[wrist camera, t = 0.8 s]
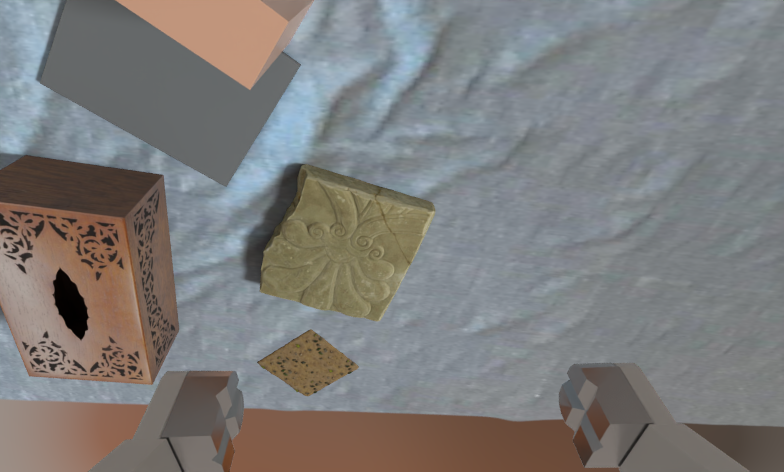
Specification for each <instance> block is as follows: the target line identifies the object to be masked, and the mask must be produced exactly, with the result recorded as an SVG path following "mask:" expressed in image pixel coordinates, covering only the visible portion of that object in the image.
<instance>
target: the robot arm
mask: <svg viewBox="0 0 784 472" xmlns="http://www.w3.org/2000/svg"><path fill="white" fill-rule="evenodd" d="M567 374H568V376H569V379H570V380H568V381H567V382H565V383H564V384H562V386H561V389H560V392H559V406H560V410H561V414H562V416H563V419H564V421H565V423H566V424H567V425H568V426H569V427H570V428H572V429H573V430H574V431H575V433H574V437H573V443H574V445H575V447H576V450H577V452H578V454H579V457H580V459H581V461H582V463H583V465H584V467H585V468H597V467H598V468H600V467H601V468H606V467H607V468H608V467H620V468H619V470H620V471H621V472H750V471H749V470H747V469H746V468H745V467H743V466H742V465H740V464H739V463H737V462H736V461H735V460H733V459H732V458H731V457H729V456H728V455H726V454H725V453H724V452H722V451H721V450H719V449H718V448H717V447H715V446H714V445H712V444H711V443H710V442H708V441H707V440H705V439H704V438H703V437H701V436H700V435H698V434H697V433H696V432H694V431H693V430H691V429H690V428H689V427H687V426H686V425H684V424H681V423H676V421H675V420H674V418H673V417H672V415H671V414H670V412H669V411H668V409H667V408H666V406H665V405H664V403H663V402H662V400H661V399H660V397H659V396H658V394H657V393H656V391H655V390H654V388H653V387H652V385H651V384H650V382H649V381H648V379H647V378H646V376H645V375H644V373H643V372H642V370H641V369H640V367H639V366H637V365H636V364H635V363H590V364H574V365H572V366H571V367H570V368H569V370H568V372H567ZM238 381H239V379H238V376H237V373H236V371H167V372H166V374H165V375H164V376H163V377H162V378H161V380H160V382H159V384H158V386H157V388H156V391H155V393H154V395H153V397H152V399H151V401H150V403H149V405H148V408H147V410H146V412H145V414H144V416H143V418H142V420H141V422H140V425H139V427H138V429H137V431H136V433H135V435H134V437H133V439H130V440H125V441H123V442H122V443H121V444H120V445H119V446H118V447H116V448H115V449H114V450H113V451H112V452H111V453H109V454H108V455H107V456H106V457H105V458H103V459H102V460H101V461H100V462H99V463H98V464H96V465H95V466H94V467H93V468H92V469H90V470H89V471H88V472H230V467H231V464H232V460H233V456H234V453H235V450H234V447H233V443H232V440H233V439H234V438H235V437H236V436H237V434H238V433H239V432H240V429H241V425H242V420H243V411H244V400H243V394H242V391H240V390H239V389H237V385H238Z"/></svg>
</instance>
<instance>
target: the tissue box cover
mask: <svg viewBox="0 0 784 472" xmlns="http://www.w3.org/2000/svg"><path fill="white" fill-rule="evenodd" d="M66 293H67V294H66ZM68 300H69V301H68ZM0 306H1V308H2V311H3V313H4V315H5V318H6V320H7V323H8V325H9V328H10V330H11V333H12V335H13V338H14V340H15V342H16V345H17V347H18V350H19V352H20V355H21V357H22V360H23V362H24V365H25V367H26V370H27V372H28V374H29V376H34V377H49V378H63V379H78V380H92V381H107V382H121V383H135V384H150V385H152V384H153V382H154V380H155V378H156V376H157V374H158V372H159V370H160V368H161V366H162V364H163V362H164V360H165V358H166V356H167V354H168V352H169V350H170V348H171V346H172V343H173V341H174V339H175V337H176V335H177V333H178V331H179V323H178V313H177V304H176V294H175V284H174V274H173V264H172V255H171V245H170V235H169V225H168V216H167V206H166V196H165V186H164V176H163V175H159V174H153V173H146V172H139V171H132V170H125V169H118V168H111V167H104V166H97V165H90V164H83V163H76V162H69V161H63V160H56V159H49V158H42V157H35V156H28V155H25V156H24V157H22V158H20V159H19V160H17V161H15V162H14V163H12V164H10V165H8V166H7V167H5V168H3V169H2V170H0ZM70 307H71V308H70ZM72 314H73V315H72ZM81 320H85V321H81Z"/></svg>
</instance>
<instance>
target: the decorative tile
mask: <svg viewBox="0 0 784 472" xmlns="http://www.w3.org/2000/svg"><path fill="white" fill-rule="evenodd" d="M297 180H298V183H297V188H298V191H297V193H296V196H295V198H294V200H293V202H292V203H291V206H290V207H289V208H287V210H286V214H285V216H284V217H283V221H282V222H281V223H280V224H279V225H277V226H276V227H275V229H274V234H273V236H272V237H271V239H270V241H269V242H268V243H267V245H266V247H265V249H264V251H263V253H264V257H263V263H262V267H261V279H260V292H261V293H265V294H268V295H272V296H276V297H280V298H283V299H288V300H293V301H297V302H300V303H302V304H303V305H306V306H309V307H313V308H316V309H320V310H332V311H337V312H341V313H343V314H345V315H348V316H352V317H359V318H363V317H364V318H367V319H370V320H373V321H380V320H381V318H382V317H383V315H384V313H385V311H386V310H387V308H388V306H389V304H390V302H391V300H392V299H393V297H394V295H395V293H396V292H397V290H398V288H399V286H400V284H401V282H402V280H403V278H404V276H405V274H406V272H407V270H408V268H409V266H410V264H411V263H412V261H413V259H414V257H415V255H416V253H417V251H418V249H419V247H420V244H421V242H422V240H423V238H424V236H425V234H426V232H427V230H428V228H429V226H430V224H431V221H432V219H433V217H434V215H435V208H434V205H433V203H432V202H429V201H426V200H423V199H420V198H416V197H413V196H409V195H406V194H403V193H400V192H397V191H394V190H390V189H387V188H383V187H379V186H376V185H373V184H370V183H367V182H364V181H361V180H358V179H355V178H351V177H348V176H344V175H341V174H337V173H334V172H331V171H328V170H324V169H321V168H317V167H314V166H311V165H307V164H306V165H302V166H301V168H300V172H299V175H298V178H297Z"/></svg>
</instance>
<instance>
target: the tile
mask: <svg viewBox="0 0 784 472" xmlns="http://www.w3.org/2000/svg"><path fill="white" fill-rule="evenodd" d="M116 1H117V2H119V3H120V4H122V5H123V6H125V7H126V8H128V9H129V10H131V11H132V12H134V13H135V14H137V15H138V16H140V17H141V18H143V19H144V20H146V21H147V22H149V23H150V24H152V25H153V26H155V27H156V28H158V29H159V30H161V31H162V32H164V33H165V34H167V35H168V36H170V37H171V38H173V39H174V40H176V41H177V42H179V43H180V44H182V45H183V46H185V47H186V48H188V49H189V50H191V51H192V52H194V53H195V54H197V55H198V56H200V57H201V58H203V59H204V60H206V61H207V62H209V63H210V64H212V65H213V66H215V67H216V68H218V69H219V70H221V71H222V72H224V73H225V74H227V75H228V76H230V77H231V78H233V79H234V80H236V81H237V82H239V83H240V84H242V85H243V86H245V87H246V88H248V89H249V90H250V89H251V88H252V87H253V86H254V85H255V83H256V82H257V81H258V80H259V79H260V77H261V76H262V75H263V74H264V73H265V71H266V70H267V69H268V68H269V67H270V65H271V64H272V63H273V62H274V61H275V60H276V58H277V57H278V56H279V55H280V54H281V52H282V51H283V50H284V49H285V48H286V46H287V45H288V44H289V43H290V41H291V39H292V37H293V36H294V34H295V32H296V31H297V29H298V27H299V25H300V24H301V22H302V20H303V19H304V17H305V15H306V14H307V12H308V10H309V8H310V7H311V5H312V3H313V2H314V0H116Z"/></svg>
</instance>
